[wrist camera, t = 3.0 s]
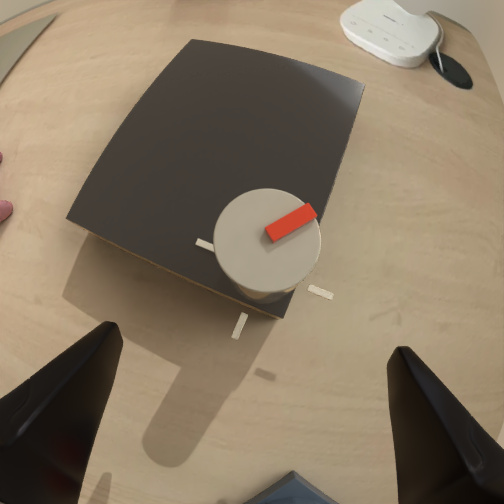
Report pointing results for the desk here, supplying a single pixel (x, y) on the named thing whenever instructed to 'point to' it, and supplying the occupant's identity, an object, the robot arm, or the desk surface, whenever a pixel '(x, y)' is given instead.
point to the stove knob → (267, 243)
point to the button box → (291, 492)
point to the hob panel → (216, 157)
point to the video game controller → (5, 205)
